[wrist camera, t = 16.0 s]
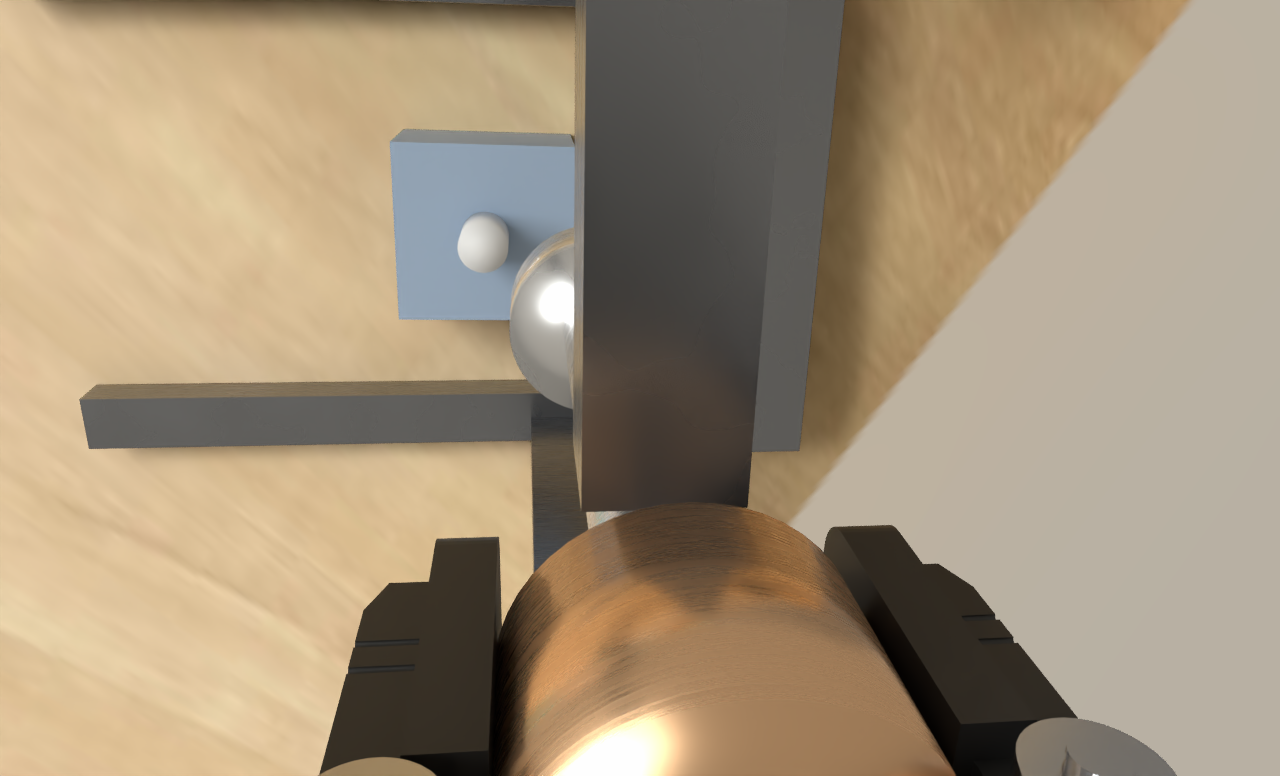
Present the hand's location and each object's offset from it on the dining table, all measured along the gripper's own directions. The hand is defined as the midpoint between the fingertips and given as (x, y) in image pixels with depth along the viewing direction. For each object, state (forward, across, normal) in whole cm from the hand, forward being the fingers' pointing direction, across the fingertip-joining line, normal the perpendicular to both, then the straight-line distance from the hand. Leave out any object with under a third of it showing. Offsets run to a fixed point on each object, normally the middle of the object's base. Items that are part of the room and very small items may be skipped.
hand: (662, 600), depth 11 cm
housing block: (+26, +3, 0) cm, 27 cm away
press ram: (+13, 0, 0) cm, 13 cm away
